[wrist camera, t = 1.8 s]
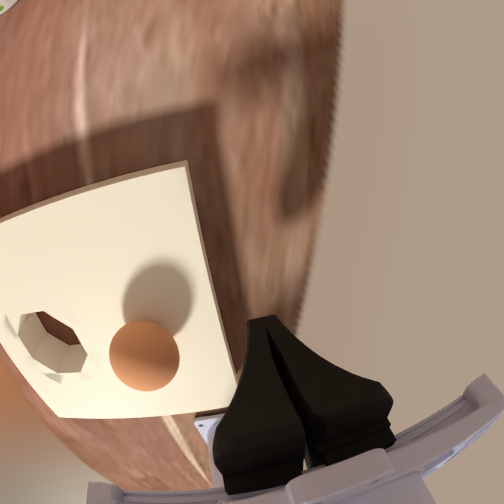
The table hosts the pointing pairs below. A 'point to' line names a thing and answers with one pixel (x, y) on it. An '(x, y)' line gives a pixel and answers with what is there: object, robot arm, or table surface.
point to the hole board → (113, 294)
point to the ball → (144, 356)
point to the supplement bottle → (6, 5)
